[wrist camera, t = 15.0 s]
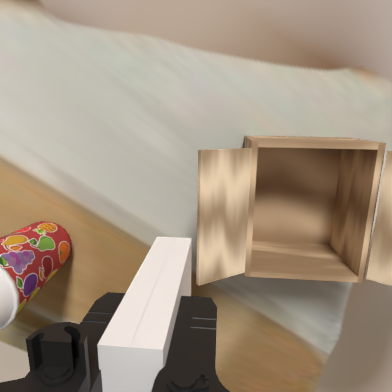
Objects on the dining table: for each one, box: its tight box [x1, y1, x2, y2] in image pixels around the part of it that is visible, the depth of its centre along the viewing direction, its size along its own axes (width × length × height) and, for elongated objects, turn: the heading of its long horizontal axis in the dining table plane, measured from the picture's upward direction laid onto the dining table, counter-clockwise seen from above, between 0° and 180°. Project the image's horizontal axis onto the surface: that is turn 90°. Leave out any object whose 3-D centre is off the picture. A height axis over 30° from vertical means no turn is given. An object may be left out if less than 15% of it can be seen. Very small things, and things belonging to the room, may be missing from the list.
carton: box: [244, 136, 386, 283], centre depth 34 cm, size 14×12×9 cm
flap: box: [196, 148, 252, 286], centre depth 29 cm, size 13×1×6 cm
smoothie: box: [0, 221, 71, 330], centre depth 33 cm, size 8×8×20 cm
